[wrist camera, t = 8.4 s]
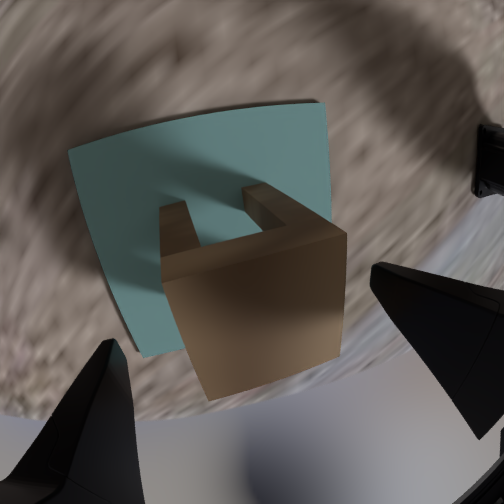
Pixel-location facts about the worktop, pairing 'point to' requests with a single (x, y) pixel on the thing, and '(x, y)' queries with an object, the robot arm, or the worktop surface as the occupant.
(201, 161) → the mat
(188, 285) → the brown u-shaped block
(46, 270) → the worktop surface
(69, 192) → the worktop surface
